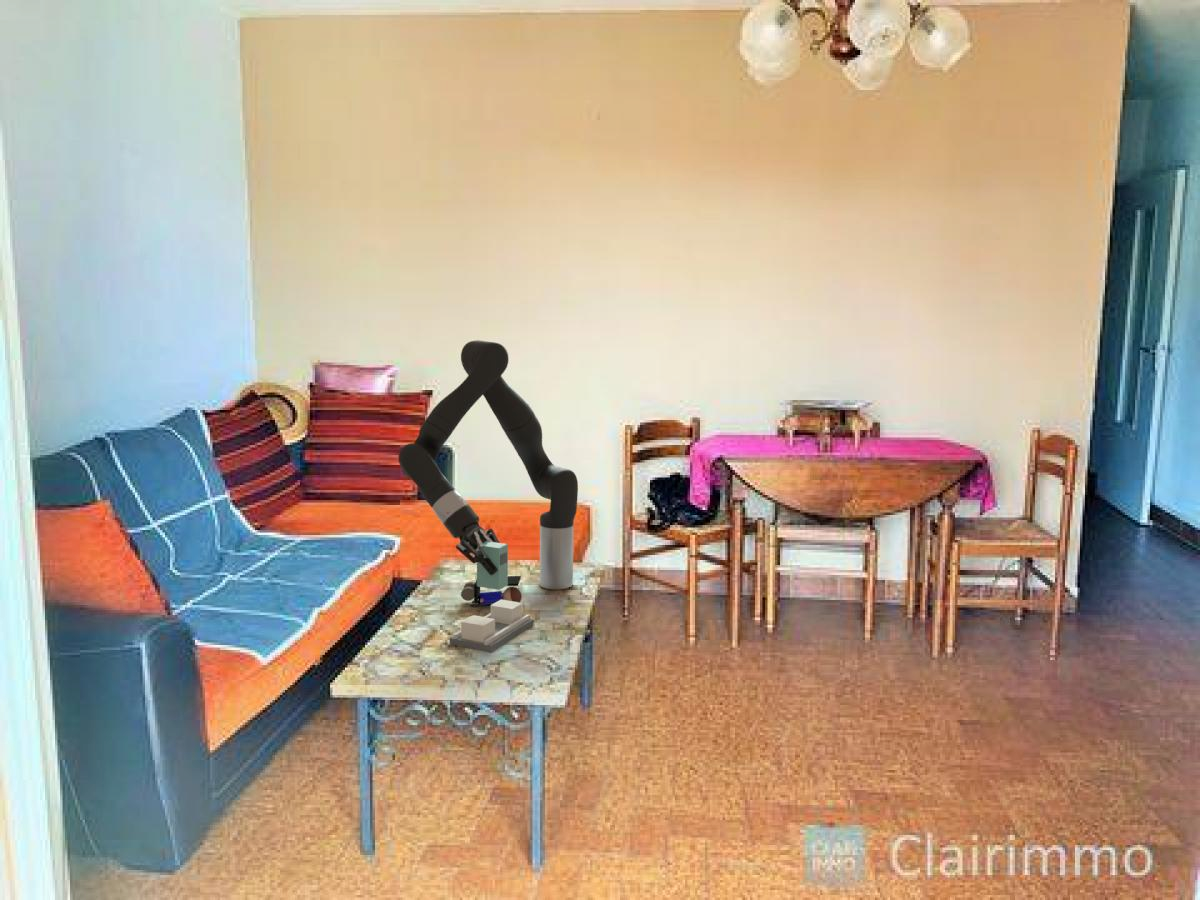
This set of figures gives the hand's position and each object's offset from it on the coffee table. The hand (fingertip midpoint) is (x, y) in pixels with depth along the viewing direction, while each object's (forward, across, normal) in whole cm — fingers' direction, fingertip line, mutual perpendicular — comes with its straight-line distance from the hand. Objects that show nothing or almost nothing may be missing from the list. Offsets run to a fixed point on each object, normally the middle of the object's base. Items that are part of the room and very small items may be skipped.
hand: (499, 570), depth 222 cm
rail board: (+10, 0, +13) cm, 16 cm away
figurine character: (+2, +18, +21) cm, 28 cm away
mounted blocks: (+9, 0, +12) cm, 15 cm away
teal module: (+2, 0, +4) cm, 5 cm away
